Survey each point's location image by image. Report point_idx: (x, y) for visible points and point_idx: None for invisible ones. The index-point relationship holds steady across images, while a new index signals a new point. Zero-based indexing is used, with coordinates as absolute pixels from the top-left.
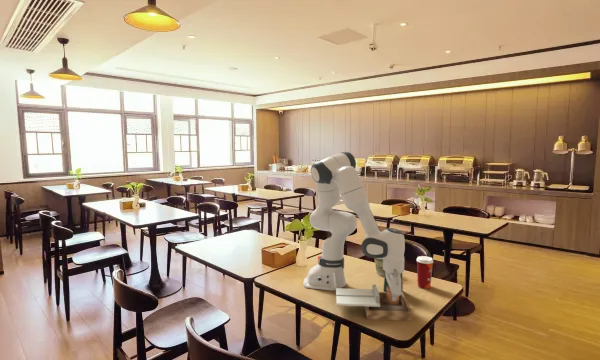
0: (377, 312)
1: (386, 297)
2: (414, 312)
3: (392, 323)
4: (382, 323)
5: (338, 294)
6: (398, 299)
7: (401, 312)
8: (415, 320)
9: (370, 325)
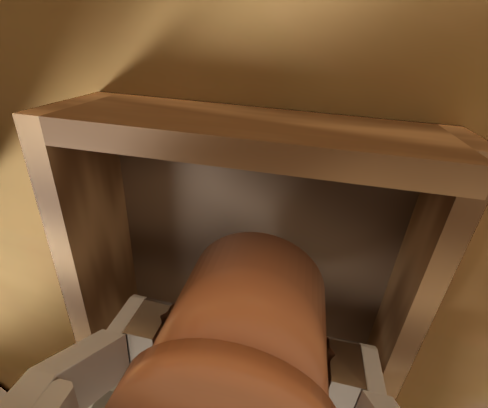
0: None
1: (107, 258)
2: (289, 21)
3: (462, 286)
4: (441, 342)
5: None
6: (304, 285)
7: (462, 253)
8: (470, 71)
9: (447, 403)
